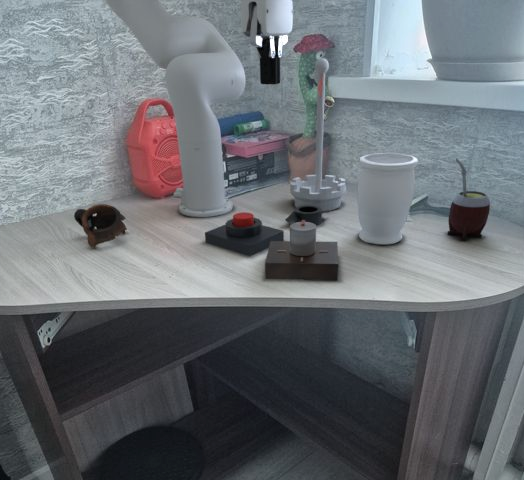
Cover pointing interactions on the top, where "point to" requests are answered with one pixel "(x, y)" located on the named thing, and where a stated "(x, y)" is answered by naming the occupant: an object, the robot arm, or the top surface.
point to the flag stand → (319, 162)
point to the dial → (302, 238)
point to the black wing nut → (306, 214)
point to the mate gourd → (468, 211)
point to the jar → (385, 196)
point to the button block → (244, 237)
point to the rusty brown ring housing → (100, 223)
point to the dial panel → (302, 262)
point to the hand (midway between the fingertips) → (270, 83)
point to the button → (243, 219)
